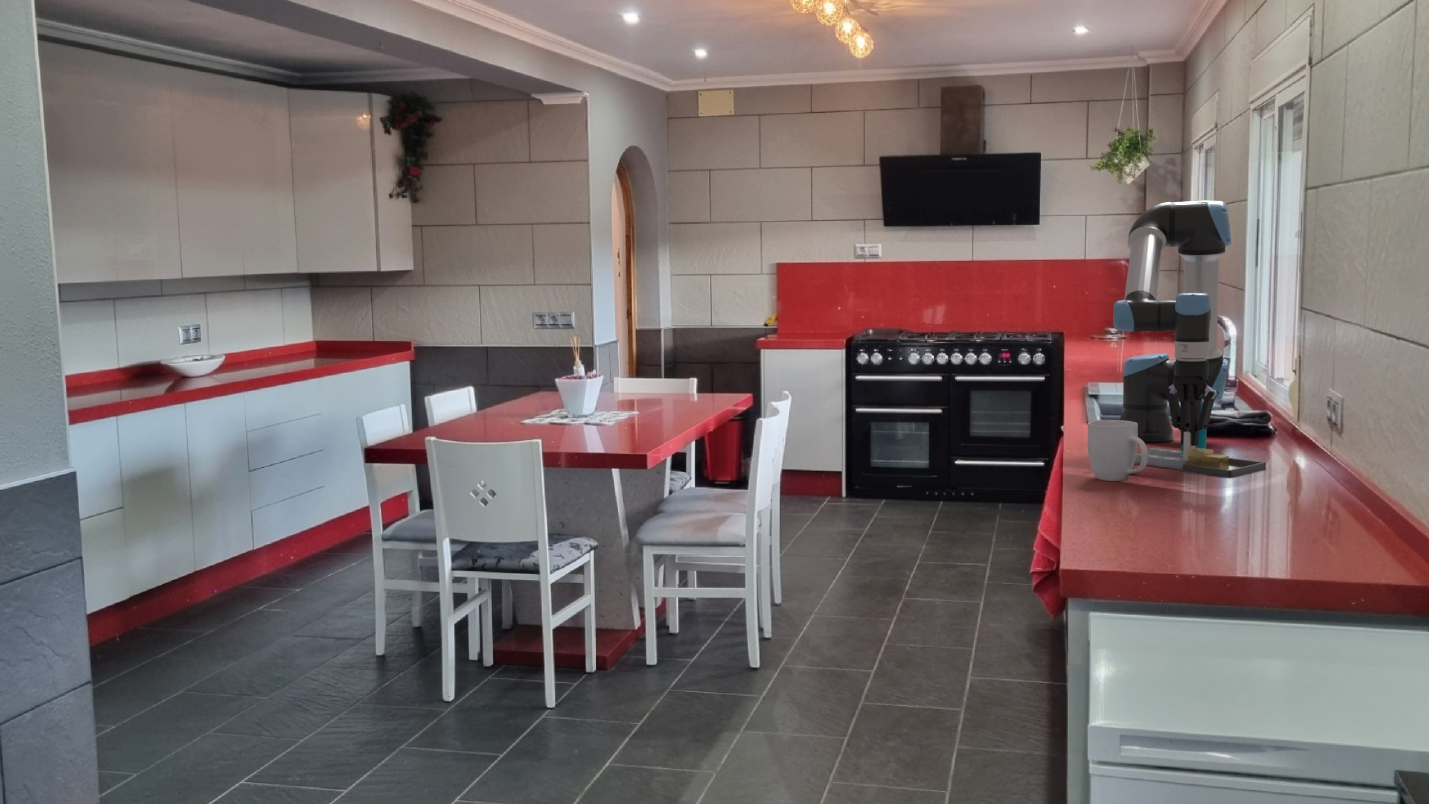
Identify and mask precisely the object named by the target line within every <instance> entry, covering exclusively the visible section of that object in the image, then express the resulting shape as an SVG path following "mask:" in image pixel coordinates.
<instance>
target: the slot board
mask: <svg viewBox="0 0 1429 804" xmlns="http://www.w3.org/2000/svg"><path fill="white" fill-rule="evenodd" d="M1147 451H1148V461H1147V464H1146V466H1151V467H1161V468H1168V469H1176V470H1181V471H1183V464H1187V465H1191V462H1192V460H1187V459H1183V451H1181V450H1176V449H1174V450H1173V449H1166V448H1159V447H1151V448H1147ZM1141 459H1142V455H1141V452H1140V453H1138V452H1137V455H1136V460H1135V464H1138V465H1140V464H1141Z"/></svg>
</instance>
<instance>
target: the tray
mask: <svg viewBox="0 0 1429 804" xmlns="http://www.w3.org/2000/svg"><path fill="white" fill-rule="evenodd" d="M1266 464H1267V462H1266V461H1256V460H1250V459H1249V460H1248V459H1241V458H1232V457H1229V466H1234V467H1235V466H1236V467H1237V468H1233V469H1227V470H1225V469H1217V468H1210V467H1202V466H1195V465H1187V464H1183V470H1182V472H1186V473H1193V474H1199V475H1200V474H1201V475H1208V476H1216V477H1223V478H1234V477H1239V476H1243V475H1247V474H1251V473H1255V472H1259V471H1263V470H1266V466H1267V465H1266Z"/></svg>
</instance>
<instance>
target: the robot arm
mask: <svg viewBox="0 0 1429 804" xmlns="http://www.w3.org/2000/svg"><path fill="white" fill-rule="evenodd" d="M1231 234H1232V233H1231V225H1230V215H1229V209H1228V206H1227V204H1226V202H1224V201H1222V200H1197V201H1196V200H1194V201H1177V202H1171V201H1169V202H1168V201H1167V202H1162V203H1158V204H1155V205H1154V206H1151V207H1150V208H1148V209H1147V210H1145V211H1144V212H1143V213H1142V214H1140V215H1139V216H1138V217H1137V219H1136V220H1135V221H1134V223H1133V224H1132V226H1131V228H1130V230H1129V232H1128V238H1127V246H1128V248H1129V251H1130V253H1129V261H1128V270H1127V278H1126V283H1125V290H1124V298H1123V299H1121V300H1117V301H1115V303H1114V304H1113V317H1112V318H1113V327H1114V329H1115V330H1117V331H1121V332H1122V331H1124V332H1125V331H1126V332H1132V333H1133V332H1174V333H1175V335H1174V336H1175V337H1174V358H1170V355H1169V354H1168V353H1164V352H1163V353H1149V354H1142V355H1137V356H1133V357H1127V359H1126V360H1125V361H1124V364H1123V372H1122V378H1123V387H1122V389H1123V390H1122V394H1123V395H1122V396H1123V397H1122V412H1121V415H1120V418H1119V420H1123V421H1132V422H1136V423H1137V424H1138V438H1140V439H1141V440H1143V442H1144V443H1163V442H1171V441H1172V440H1174V437H1175V435H1174V434H1175V433H1174V432H1175V431H1174V429H1178V430H1179V431H1180V445H1181V444H1182V445H1184V449H1183V459H1187V460H1188V450H1190V449H1195V448H1196V446H1197V445H1198V444H1199V432H1200V431H1201V430H1205V429H1208V427H1209V422H1210V418H1211V414H1212V411H1213V409H1214V408H1213V407H1214V403H1217V402H1219V401H1221V400H1222V399H1223V397H1224V393H1225V388H1226V382H1227V376H1228V375H1227V374H1228V370H1229V369H1228V368H1229V360H1228V359H1226V358H1224V352H1223V351H1222V350H1221V349H1220V348H1219V347H1218V325H1219V323H1218V322H1219V321H1218V318H1219V317H1218V316H1219V313H1218V312H1219V271H1220V270H1219V269H1220V268H1219V266H1220V262H1219V261H1220V259H1221V257H1223V255H1224V254H1225V253H1226V247H1229V246H1231V245H1232V235H1231ZM1166 247H1171V248H1173V247H1176V248H1177V254H1178V255H1179V256H1180V257H1181V258H1182V259H1183V293H1182V292H1181V293H1178V294H1177V295H1176V297H1175V299H1160V300H1159V299H1158V298H1157V297H1158V288H1159V278H1160V268H1161V260H1162V253H1163V252H1164V250H1165V248H1166ZM1202 400H1204V402H1203V406H1202V410H1201V402H1202ZM1168 407H1169V411H1170V416H1169V411H1168ZM1170 417H1171V418H1170ZM1173 428H1174V429H1173Z"/></svg>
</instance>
